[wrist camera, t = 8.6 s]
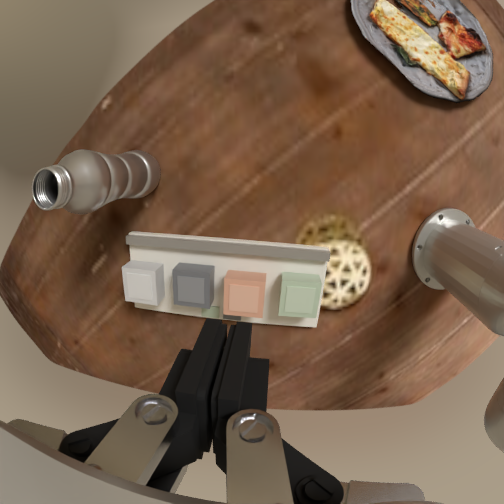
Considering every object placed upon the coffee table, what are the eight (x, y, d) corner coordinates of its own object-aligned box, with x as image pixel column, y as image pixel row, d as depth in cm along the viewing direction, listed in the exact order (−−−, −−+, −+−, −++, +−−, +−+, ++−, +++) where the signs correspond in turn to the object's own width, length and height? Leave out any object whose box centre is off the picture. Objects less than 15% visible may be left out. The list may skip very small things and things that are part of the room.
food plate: (503, 61, 26) (514, 57, 22) (445, 133, 32) (457, 131, 29) (399, -41, 23) (405, -51, 20) (319, 12, 30) (321, 0, 26)
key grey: (163, 263, 39) (154, 271, 36) (165, 296, 40) (157, 306, 37) (131, 259, 39) (121, 267, 36) (134, 291, 41) (125, 301, 38)
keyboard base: (328, 246, 39) (330, 251, 37) (315, 323, 42) (317, 330, 40) (131, 231, 40) (125, 234, 39) (137, 304, 44) (132, 310, 42)
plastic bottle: (160, 200, 39) (69, 237, 20) (119, 190, 39) (19, 217, 20) (170, 155, 37) (79, 155, 18) (128, 146, 37) (26, 145, 18)
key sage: (318, 274, 38) (322, 283, 36) (313, 307, 40) (316, 318, 37) (281, 271, 39) (282, 280, 36) (278, 305, 40) (278, 315, 37)
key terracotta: (266, 273, 38) (265, 282, 35) (263, 307, 39) (262, 318, 36) (228, 269, 38) (224, 278, 35) (227, 303, 40) (223, 314, 37)
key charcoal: (214, 265, 39) (209, 274, 36) (214, 299, 41) (209, 309, 38) (179, 262, 40) (171, 270, 37) (180, 295, 41) (173, 304, 38)
